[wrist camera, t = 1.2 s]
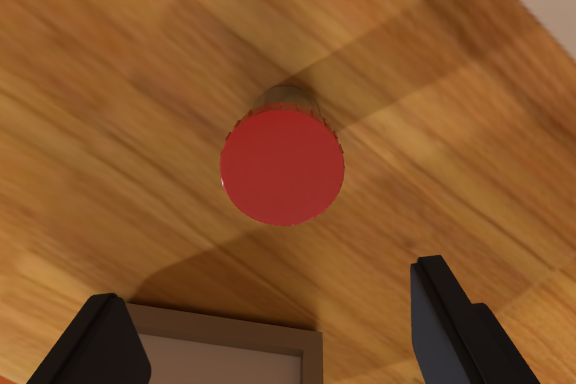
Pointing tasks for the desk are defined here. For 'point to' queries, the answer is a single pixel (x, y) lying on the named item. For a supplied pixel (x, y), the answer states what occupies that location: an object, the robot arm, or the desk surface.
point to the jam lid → (282, 164)
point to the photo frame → (225, 349)
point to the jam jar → (287, 97)
